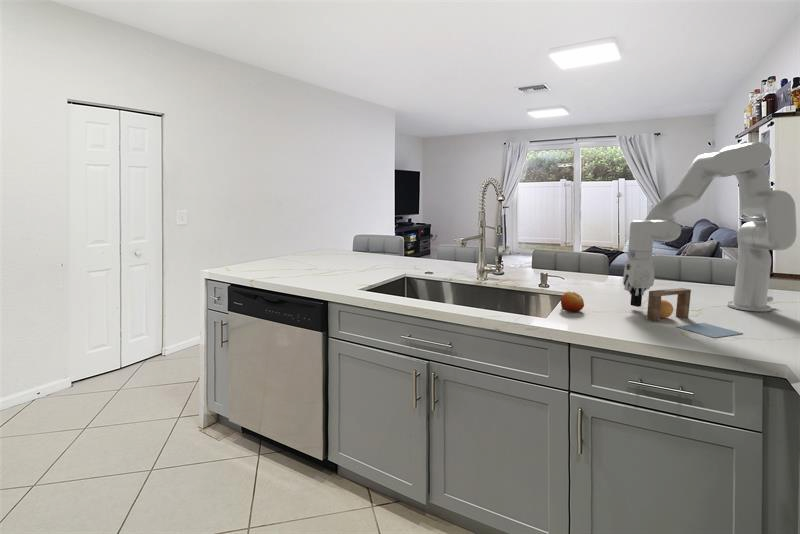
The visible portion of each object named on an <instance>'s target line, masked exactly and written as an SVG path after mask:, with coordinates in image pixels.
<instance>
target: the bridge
mask: <svg viewBox="0 0 800 534" xmlns="http://www.w3.org/2000/svg"><path fill="white" fill-rule="evenodd" d="M691 293H692V290H691V289H690V288H686V287H684V288H683V287H679V288H670V289H669V288H666V289H659V290H658V289H657V290H649V291H648V299H647V300H648V301H647V313H646V320H647V321H649V322H652V323H658V322H660V306H661V300H662V297H665V296H666V297H667V296H676V295H677V298H676V299H677V301H676V310H675V317H677V316H678V317H677V318H680V317H681V319H688V318H689V314H690V303H691Z"/></svg>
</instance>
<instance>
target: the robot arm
mask: <svg viewBox="0 0 800 534" xmlns="http://www.w3.org/2000/svg"><path fill="white" fill-rule="evenodd" d="M771 157H772V148H771V147H770V146H769V144H767V143H766V142H763V141H754V142H753V141H752V142H746V143H737V144H733V145H729V146H725V147H723V148H722V149H720V150H719V151H715V152H707V153H703V154H699V155H698V156H697V157H696V158H694V160H693V161H692V163H691V164H690V166H689V167H688V168H687V170H686V171H685V173H684V174H683V175H682V178H680V180H679V182H678V184H676V186H675V188H674V189H673V190H672V191H671V192H669V194H667V195H665V197H663V198H662V199H661V200H660V201H658V202H657V203H656V204H655V205H654V206H653V207H652V209H651V210H650V211H649V212H648V214H647V216H646V217H645V219H642V220H641V219H639V220H638V219H635V220H632V221H631V222H630V225H629V238H628V248H627V249H628V250H627V252H626V253H627V254H626V255H627V258H626V261H625V265H624V270H623V277H622V278H623V279H622V283H623V286H624V288H623V289H624V291H628V292H629V295H630V306H632V307H637V308H638V307H642V303H643V302H642V300H643V299H642V298H643V296H644V294H645V291H647V290H649V289H651V287H653V286H654V284H655V264H654V263H655V262H654V259H653V258H652V257H653V248H654V245H653V244H654V241H657V242H659V241H660V242H668V243H669V242H673V241H676V240H677V239H678V238H679V237H680V235H682V234H681V233H682V227H681V225H680V224H679V223H678V222H677V221H675V220H670V218H672V216H674V214H677V213H678V212H679V211H681V210H683V209H685V208H688V207H690V206H692V205H694V204H696V203H698V202H699V201H700V200H701V198H702V197H703V196H704V194H705V192H706V191H707V190H708V188H709V186H710V185H711V184H712V182H713V180H714V179H716V178H727V177H731V176H735V177H736V179H737V183H738V192H739V194H738V195H739V205H740V211H741V214H742V215H743V216H745V217H748V218H753V219H765V220H764V221H763V220H751V221H748V222H745V223H743V224H742V225H740V227H739V229H738V231H737V232H736V241H737V250H738V254H737V265H736V272H735V281H734V282H735V283H734V290H733V291H734V292H733V299H732V301H728V302H727V306H728V307H729V308H731V309H737V310H742V311H747V312H748V311H749V312H759V313H765V312H770V311H771V310H772V307H771V306H770V305H768V304H767V303H771V302H773V301H774V298H773V297H772V296H768V292H769V291H768V290H769V284H770V283H769V282H770V276H771V267H772V255H771V253H770V251H785V250H788V249H790V248H791V247H792V246H793V244H795V241H796V239H797V216H796V215H797V212H796V202H795V200H794V198H793V196H792V195H791V194H790V193H789V192H788V191H785V190H780V189H777V190H776V189H775V190H774V189H773V190H772V189H771V185H770V184H771V183H770V175H769V172H768V170H767V168H766V166H765V165H766V164H767V163H769V161H770V160H771Z"/></svg>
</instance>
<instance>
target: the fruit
mask: <svg viewBox="0 0 800 534" xmlns="http://www.w3.org/2000/svg"><path fill="white" fill-rule="evenodd" d="M560 305H561V310H559V311H561V312H562V311H566V312H569V313H572V314H576V313H579V312H580V311H582V310H583V308H584V307H585V301H584V298H583V297H582V295H580V294H578V293H577V292H574V291H572V292H571V291H566V292H564V294H563V295H562V296H561V298H560Z"/></svg>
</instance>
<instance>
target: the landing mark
mask: <svg viewBox="0 0 800 534" xmlns="http://www.w3.org/2000/svg"><path fill="white" fill-rule="evenodd" d="M675 327H676V328H678V327H679V328H678V329H681V328H683V329H682V330H685V329H686V330H685V331H688V330H690V331H689V332H691V331H693V332H692V333H695V332H696V334H698V333H700V334H699V335H702V334H703V336H705V335H706V337H709V336H710V337H709V338H712V337H713V339H717V337H719V338H725V336H726V337H731V336H738V335H743V334H744V332H739V331H737V330H732V329H729V328H725V327H721V326H717V325H713V324H710V323H706V322H700V323H692V324H684V325H677V326H675Z"/></svg>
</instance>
